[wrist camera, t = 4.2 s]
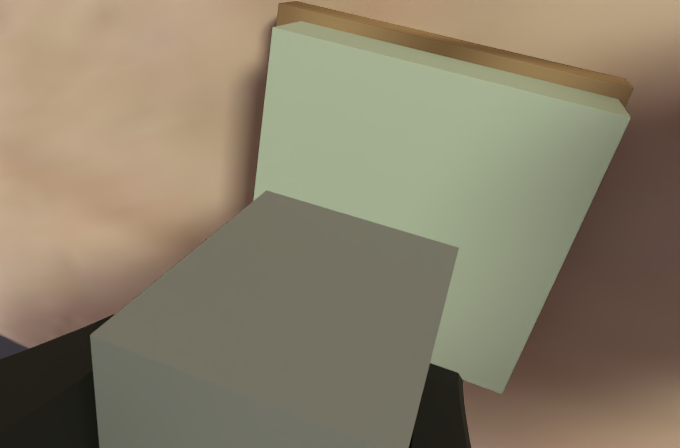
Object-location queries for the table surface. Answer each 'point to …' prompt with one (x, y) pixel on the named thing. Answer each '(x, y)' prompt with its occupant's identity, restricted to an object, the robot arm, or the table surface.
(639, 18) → the table surface
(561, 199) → the grey-green slab
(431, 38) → the walnut slab
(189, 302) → the grey block
